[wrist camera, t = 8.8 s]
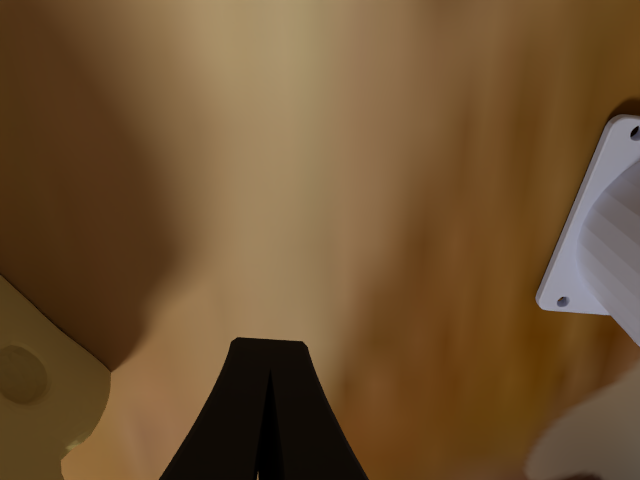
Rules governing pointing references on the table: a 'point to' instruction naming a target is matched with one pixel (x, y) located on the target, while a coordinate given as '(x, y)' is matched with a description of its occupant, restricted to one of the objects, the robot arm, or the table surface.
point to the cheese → (43, 391)
